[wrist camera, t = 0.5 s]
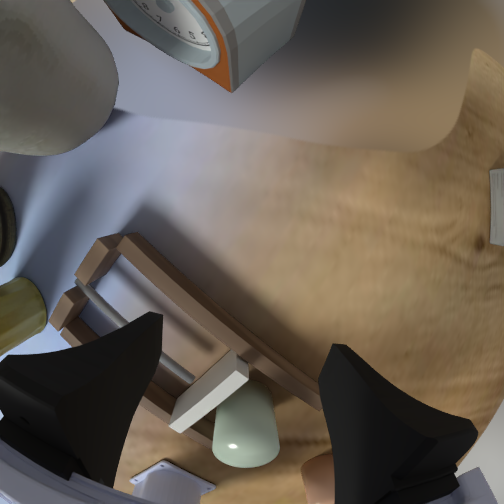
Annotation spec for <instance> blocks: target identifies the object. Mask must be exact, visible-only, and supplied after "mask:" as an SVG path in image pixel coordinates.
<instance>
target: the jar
mask: <svg viewBox="0 0 504 504" xmlns="http://www.w3.org/2000/svg"><path fill="white" fill-rule="evenodd" d="M301 474H302V479H303V483H304V488H305V492H306V497H307V502H308V504H334V502H335V478H334V462H333V455H332V454H328V455H321V456H317V457H315V458H312V459H310V460H308V461H307V462H306V463H304V464H303V466H302V467H301Z"/></svg>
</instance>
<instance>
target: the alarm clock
mask: <svg viewBox="0 0 504 504" xmlns="http://www.w3.org/2000/svg"><path fill="white" fill-rule="evenodd" d="M104 2H105V3H106V4H107V6H108V7H109V9H110V10H111V11H112V13H113V14H114V16H115V17H116V18H117V20H118V21H119V23H120V24H121V25H122V27H123V28H124V29H125V30H126V31H128V32H130V33H132V34H134V35H136V36H138V37H140V38H142V39H144V40H146V41H148V42H149V43H151V44H152V45H154V46H155V47H156V48H158V49H160V50H161V51H163V52H164V53H166V54H167V55H169V56H171V57H173V58H175V59H177V60H178V61H180V62H182V63H185V64H187V65H189V66H191V67H192V68H194V69H196V70H197V71H199V72H200V73H202V74H204V75H205V76H207V77H208V78H210V79H211V80H213V81H214V82H216V83H217V84H219V85H220V86H222V87H223V88H225V89H226V90H227V91H229V92H231V93H232V92H234V91H235V90H236V89H237V88H238V87H239V86H240V85H241V84H242V83H243V82H244V81H245V80H246V79H247V78H248V77H249V76H250V75H251V74H253V72H255V71H256V70H257V69H258V68H259V67H260V66H261V65H262V64H263V63H264V62H265V61H267V59H269V58H270V57H271V56H272V55H273V54H274V53H275V52H277V51H278V50H279V49H280V48H281V47H282V46H283V45H285V44H286V43H287V42H288V41H289V40H291V39H292V38H293V37H294V35H295V32H296V29H297V26H298V23H299V19H300V17H301V13H302V11H303V8H304V5H305V2H306V0H104Z"/></svg>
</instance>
